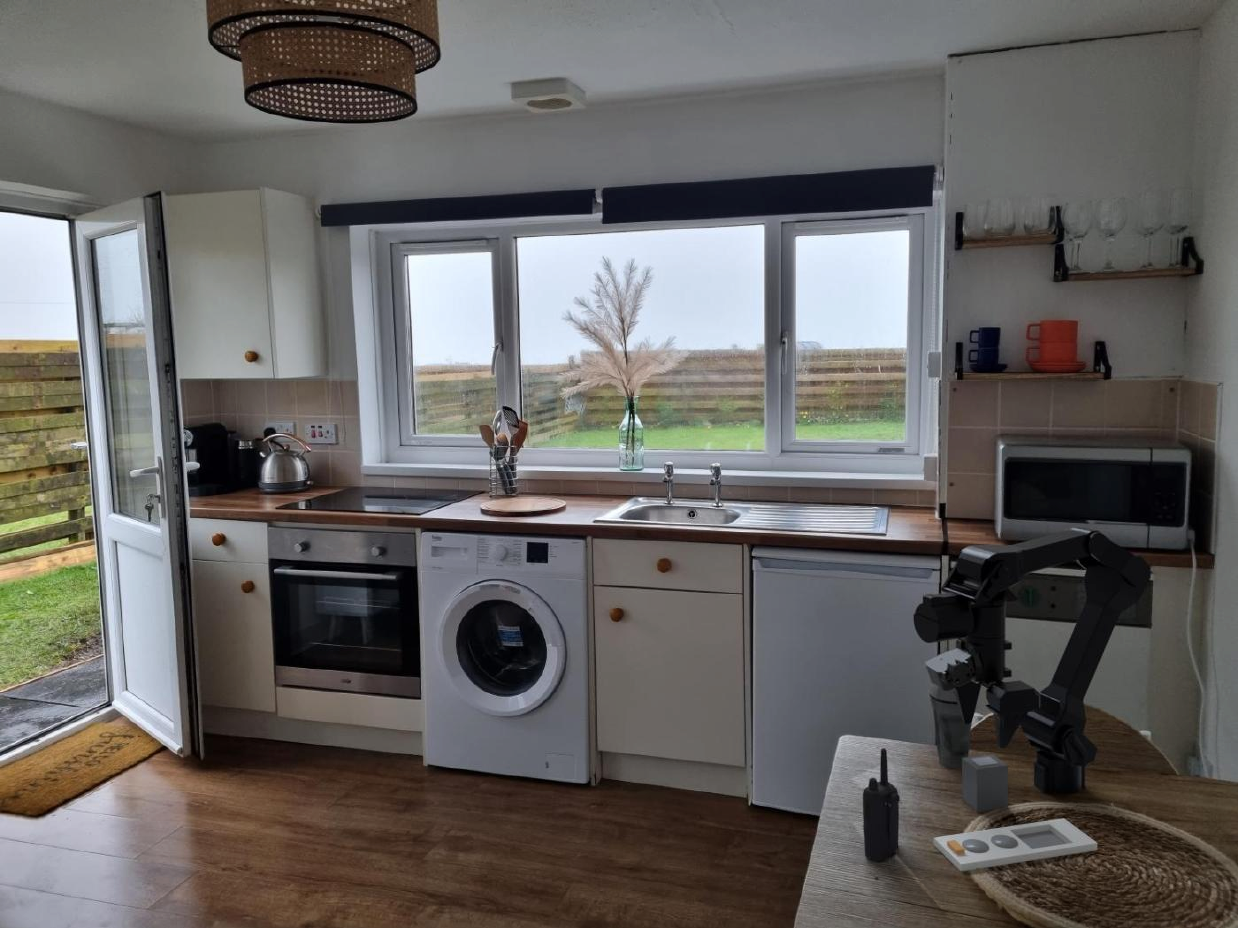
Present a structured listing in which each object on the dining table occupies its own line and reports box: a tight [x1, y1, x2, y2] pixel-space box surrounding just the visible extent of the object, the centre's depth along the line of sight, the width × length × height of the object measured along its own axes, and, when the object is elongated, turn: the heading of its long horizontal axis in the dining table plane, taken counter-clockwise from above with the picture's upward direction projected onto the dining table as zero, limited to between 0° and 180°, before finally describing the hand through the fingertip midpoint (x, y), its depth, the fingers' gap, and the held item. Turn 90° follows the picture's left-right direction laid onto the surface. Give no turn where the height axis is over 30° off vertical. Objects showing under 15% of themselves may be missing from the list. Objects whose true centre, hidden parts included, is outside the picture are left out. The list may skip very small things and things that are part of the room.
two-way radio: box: [862, 747, 901, 862], centre depth 128 cm, size 6×4×15 cm
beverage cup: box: [929, 645, 972, 769], centre depth 155 cm, size 7×7×20 cm
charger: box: [961, 753, 1009, 813], centre depth 139 cm, size 5×4×7 cm
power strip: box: [933, 817, 1098, 872], centre depth 127 cm, size 20×7×3 cm, turn 100°
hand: (984, 735), depth 138 cm, fingers open, 9 cm apart
